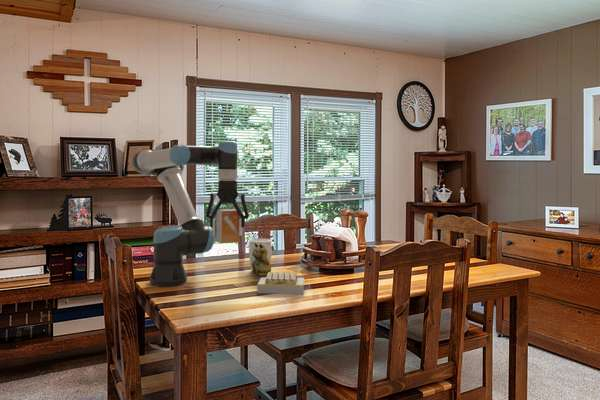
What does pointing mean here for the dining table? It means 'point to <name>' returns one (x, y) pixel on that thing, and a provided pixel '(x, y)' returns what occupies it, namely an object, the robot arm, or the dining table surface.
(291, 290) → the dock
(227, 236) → the small box
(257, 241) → the jar
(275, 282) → the pallet
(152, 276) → the robot arm
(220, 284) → the dining table surface
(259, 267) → the decorative figurine
